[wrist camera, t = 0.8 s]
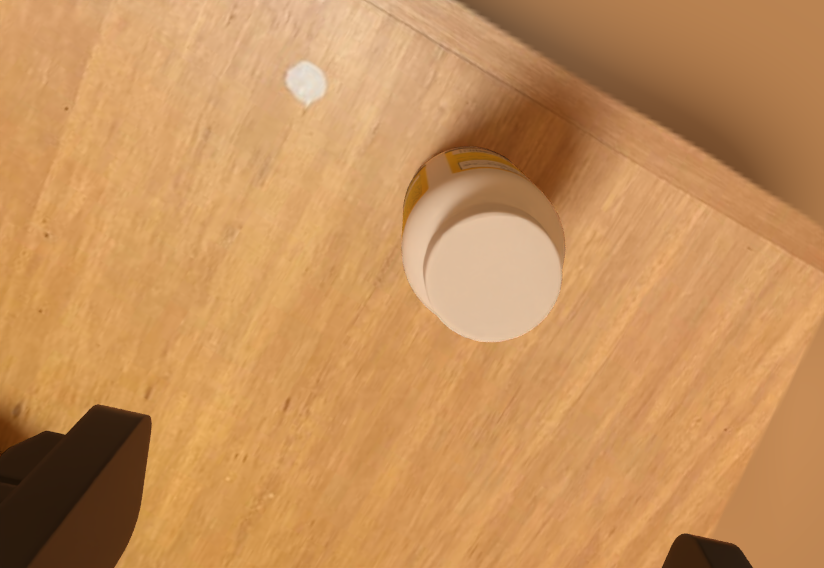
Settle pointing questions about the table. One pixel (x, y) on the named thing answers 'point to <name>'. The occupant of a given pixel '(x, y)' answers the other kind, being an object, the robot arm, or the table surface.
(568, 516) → the table surface
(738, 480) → the table surface
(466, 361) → the table surface
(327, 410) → the table surface
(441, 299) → the supplement bottle
